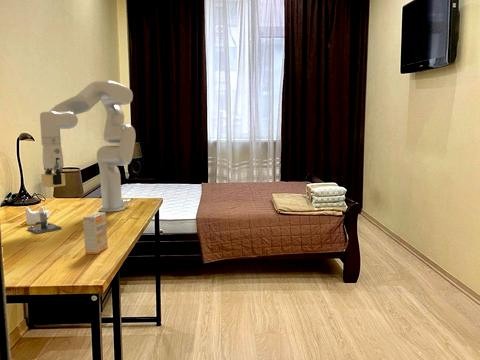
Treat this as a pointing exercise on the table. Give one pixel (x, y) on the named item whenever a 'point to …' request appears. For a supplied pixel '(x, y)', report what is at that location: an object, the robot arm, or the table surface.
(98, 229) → the supplement box
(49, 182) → the collar
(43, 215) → the peg base plate
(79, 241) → the table surface
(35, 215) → the bracket
